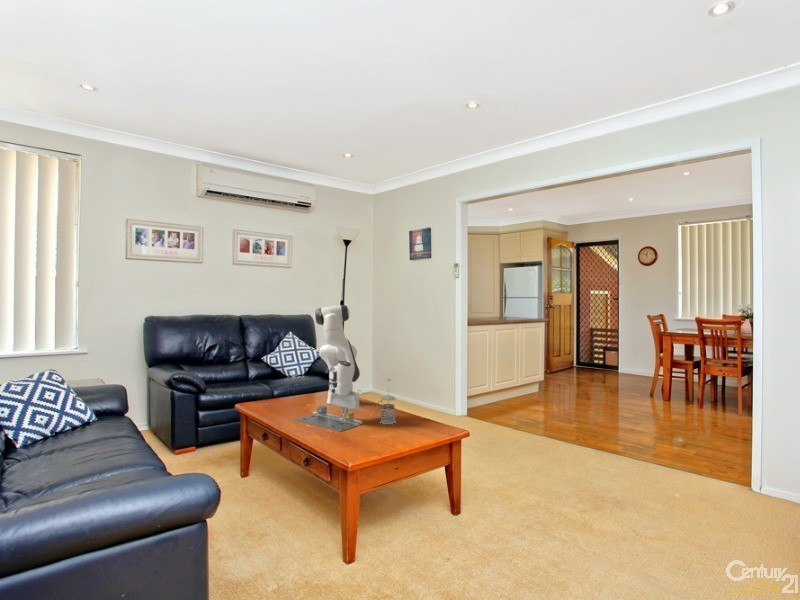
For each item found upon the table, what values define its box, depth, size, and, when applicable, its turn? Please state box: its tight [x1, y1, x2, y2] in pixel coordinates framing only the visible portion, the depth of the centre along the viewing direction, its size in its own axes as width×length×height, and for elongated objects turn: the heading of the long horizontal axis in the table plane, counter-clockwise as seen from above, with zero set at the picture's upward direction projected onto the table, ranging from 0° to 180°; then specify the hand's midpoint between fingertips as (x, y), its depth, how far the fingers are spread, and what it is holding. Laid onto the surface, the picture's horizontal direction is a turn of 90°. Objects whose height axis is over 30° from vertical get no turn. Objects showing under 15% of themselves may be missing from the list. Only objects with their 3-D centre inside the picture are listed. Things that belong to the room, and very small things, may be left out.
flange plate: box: [295, 413, 360, 433], centre depth 259 cm, size 14×36×1 cm, turn 53°
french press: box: [376, 377, 397, 425], centre depth 262 cm, size 10×12×25 cm
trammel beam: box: [312, 405, 364, 426], centre depth 265 cm, size 9×34×5 cm, turn 53°
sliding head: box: [340, 410, 355, 421], centre depth 260 cm, size 9×4×4 cm, turn 143°
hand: (344, 414), depth 264 cm, fingers closed
